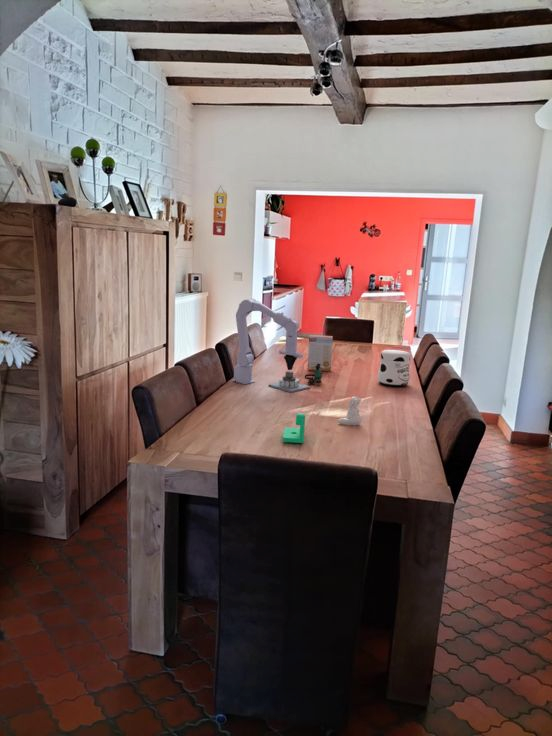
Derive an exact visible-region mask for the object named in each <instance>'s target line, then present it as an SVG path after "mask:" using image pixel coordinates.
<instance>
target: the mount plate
mask: <svg viewBox="0 0 552 736" xmlns="http://www.w3.org/2000/svg"><path fill="white" fill-rule="evenodd" d="M270 386H271V387H270ZM268 387H270V388H273V387H274V388H273V389H277V388H278V389H277V390H280V389H281V390H282V391H285V392H287V391H288V393H291V394H292V393H297V392H301V391H303V390H304V389H305V390H308V388H309V389H310V386H308V385H305V384H301V383H299V386H298V387H296V388H285V387H281V386H280V385H279V381H278V382H273V383H268ZM300 390H301V391H300ZM305 390H304V391H305Z"/></svg>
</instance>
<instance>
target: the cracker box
mask: <svg viewBox="0 0 552 736" xmlns="http://www.w3.org/2000/svg"><path fill="white" fill-rule="evenodd" d="M333 337H334V336H333V335H318V334H316V335H315V334H309V337H308V351H307V355H308V356H307V371H310V370H316V367H315V366H317V364H320V368H321V372H327V371H332V359H333V357H332V355H333Z"/></svg>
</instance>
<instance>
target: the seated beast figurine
mask: <svg viewBox="0 0 552 736" xmlns="http://www.w3.org/2000/svg"><path fill="white" fill-rule="evenodd" d="M361 401H362V398H361V397H360V398H359V397H357V396H352V397H351V399H350V400H349V403H348V406H349V407H348V409H347V413H346V416H345V417H341V418H338V420H337V423H340V424H339V425H341V424H346V425H345V426H351V425H354V426H353V427H355V426H356V427H357V426H360V425H361V423H362V420H363V419H362V416H361V414H360V410H359V407H358V406H359V405H360V403H361Z"/></svg>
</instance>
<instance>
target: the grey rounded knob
mask: <svg viewBox="0 0 552 736" xmlns="http://www.w3.org/2000/svg"><path fill="white" fill-rule="evenodd" d="M282 378H283V380H285V381H295V380H296V377H295V376H294V371H292V370H286V371H285V376H282Z"/></svg>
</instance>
